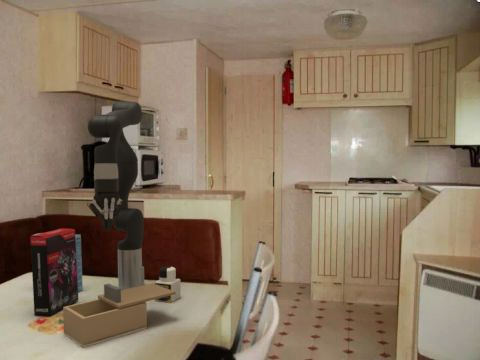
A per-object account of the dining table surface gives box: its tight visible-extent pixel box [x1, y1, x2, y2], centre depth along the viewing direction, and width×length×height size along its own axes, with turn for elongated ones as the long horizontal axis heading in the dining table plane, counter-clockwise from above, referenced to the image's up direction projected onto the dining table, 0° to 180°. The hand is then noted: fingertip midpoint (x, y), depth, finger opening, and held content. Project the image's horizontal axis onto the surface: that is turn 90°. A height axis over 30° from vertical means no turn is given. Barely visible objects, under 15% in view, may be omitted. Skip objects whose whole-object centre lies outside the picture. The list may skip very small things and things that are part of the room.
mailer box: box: [62, 298, 148, 348], centre depth 131 cm, size 20×14×8 cm
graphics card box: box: [29, 227, 79, 317], centre depth 152 cm, size 17×7×27 cm, turn 168°
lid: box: [97, 282, 176, 308], centre depth 139 cm, size 20×14×5 cm
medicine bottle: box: [154, 265, 182, 304], centre depth 162 cm, size 7×7×12 cm
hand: (107, 230), depth 142 cm, fingers closed
